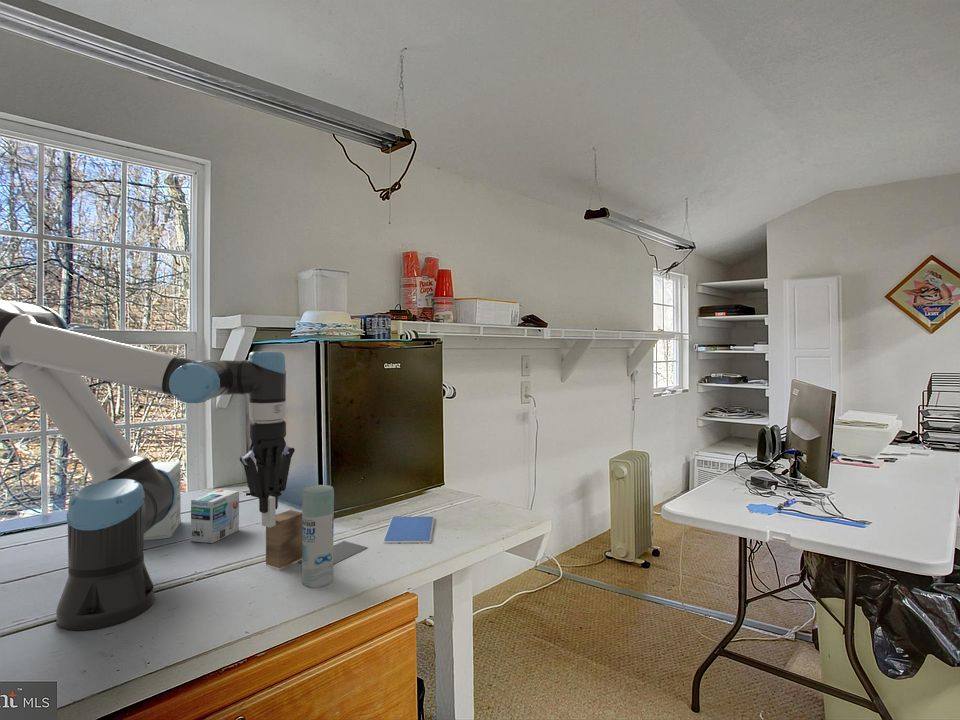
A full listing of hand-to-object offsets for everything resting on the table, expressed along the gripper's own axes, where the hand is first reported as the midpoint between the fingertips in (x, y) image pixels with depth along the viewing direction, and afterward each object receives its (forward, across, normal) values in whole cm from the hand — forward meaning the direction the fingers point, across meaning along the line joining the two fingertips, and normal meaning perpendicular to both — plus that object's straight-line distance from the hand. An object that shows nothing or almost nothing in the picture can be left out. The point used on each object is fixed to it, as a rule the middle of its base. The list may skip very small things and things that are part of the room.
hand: (268, 525), depth 117 cm
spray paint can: (+10, +2, -13) cm, 17 cm away
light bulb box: (+10, +6, +29) cm, 32 cm away
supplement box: (+10, -2, +46) cm, 47 cm away
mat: (+10, +14, -6) cm, 18 cm away
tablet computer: (+11, +37, -11) cm, 40 cm away
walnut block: (+10, +5, 0) cm, 11 cm away
